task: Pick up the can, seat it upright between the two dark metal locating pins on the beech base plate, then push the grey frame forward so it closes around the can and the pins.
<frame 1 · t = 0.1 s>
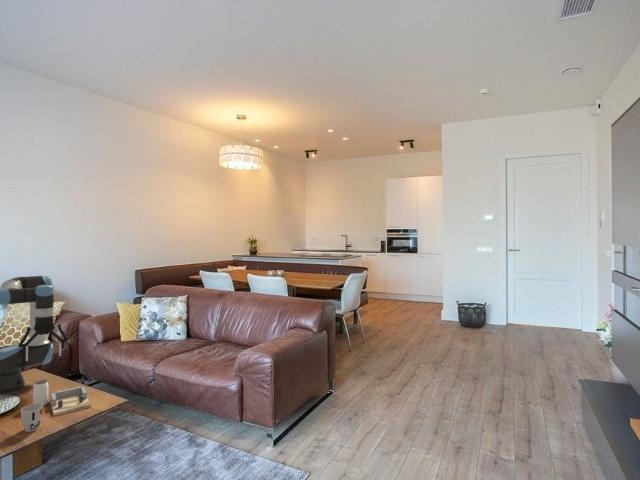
hand: (43, 357, 190), 28 cm above the table, fingers open, 13 cm apart
cup: (31, 429, 174), on the table
grey frame: (68, 395, 203), point 3 cm above the table, slide at 0.0 cm
can: (40, 405, 199), on the table
base plate: (69, 404, 199), on the table
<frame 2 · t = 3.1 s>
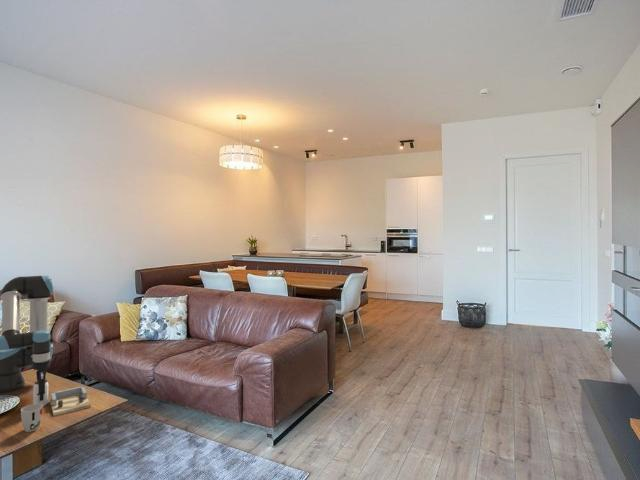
hand: (40, 403, 199), 0 cm above the table, fingers closed on can, 6 cm apart
can: (40, 404, 199), on the table, touching gripper
everything else where it was.
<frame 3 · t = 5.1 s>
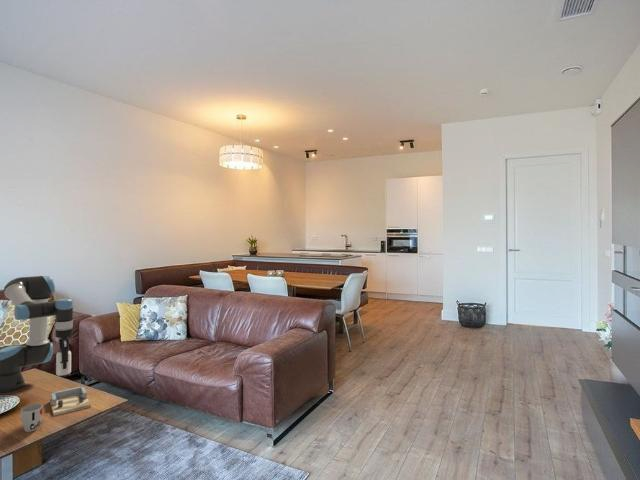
hand: (63, 372, 196), 18 cm above the table, fingers closed on can, 6 cm apart
can: (63, 374, 196), point 17 cm above the table, touching gripper
everything else where it was.
when the fingers open (3 cm above the table, at t = 7.3 s): can drops 1 cm, resting on base plate.
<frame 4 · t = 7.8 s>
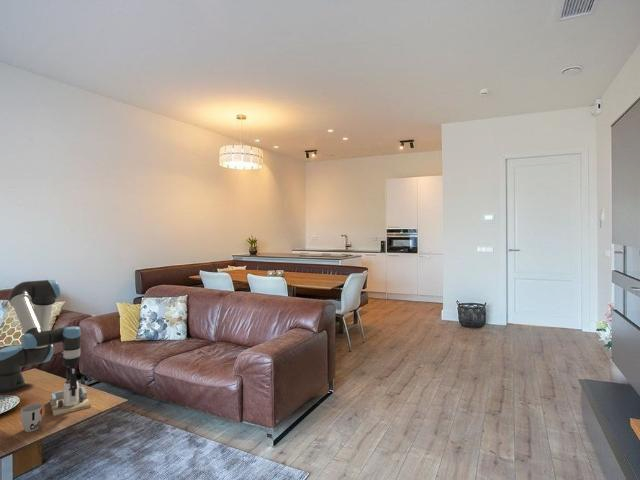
hand: (71, 397, 196), 5 cm above the table, fingers open, 13 cm apart
can: (70, 404, 196), point 1 cm above the table, touching base plate
everything else where it was.
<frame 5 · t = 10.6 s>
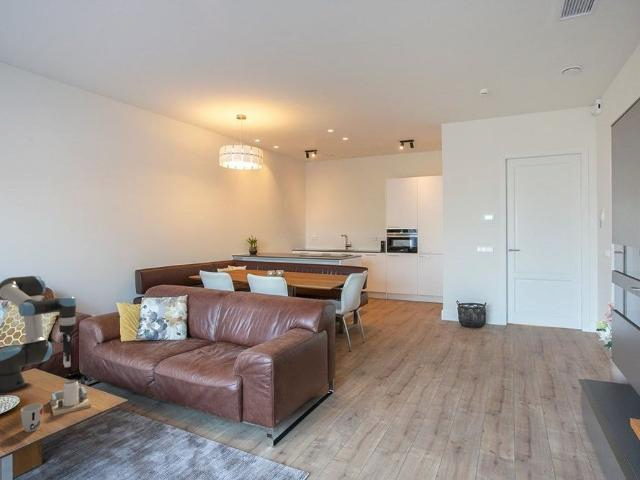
hand: (66, 365, 211), 17 cm above the table, fingers open, 4 cm apart
nothing on the table moved.
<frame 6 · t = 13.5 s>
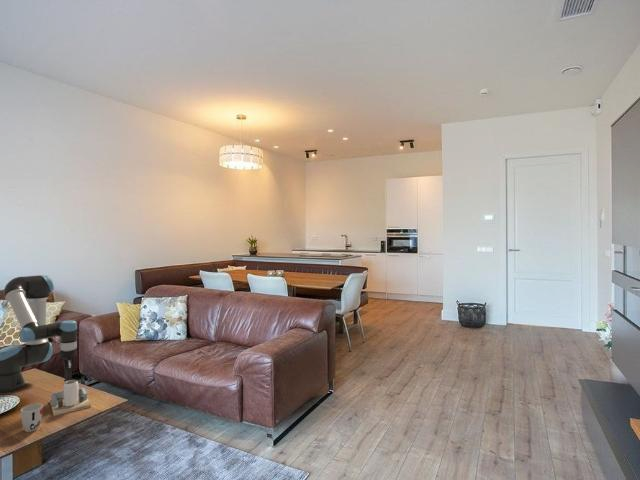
hand: (67, 391, 207), 4 cm above the table, fingers closed
grey frame: (69, 396, 202), point 3 cm above the table, slide at 1.2 cm, touching gripper
everything else where it was.
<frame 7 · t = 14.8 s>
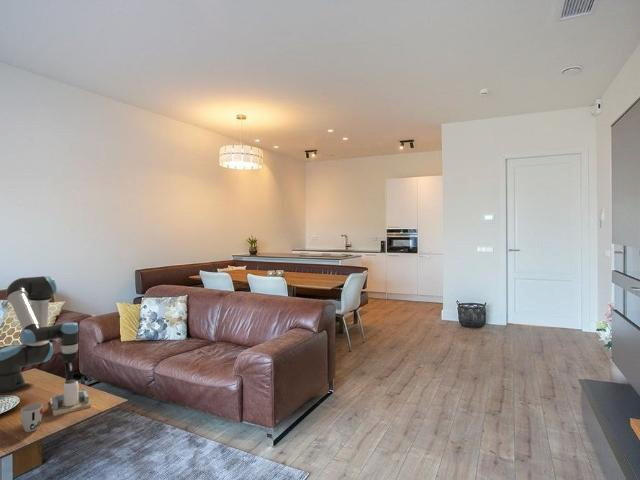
hand: (69, 395, 203), 3 cm above the table, fingers closed
grey frame: (70, 399, 198), point 3 cm above the table, slide at 6.2 cm, touching gripper
everything else where it was.
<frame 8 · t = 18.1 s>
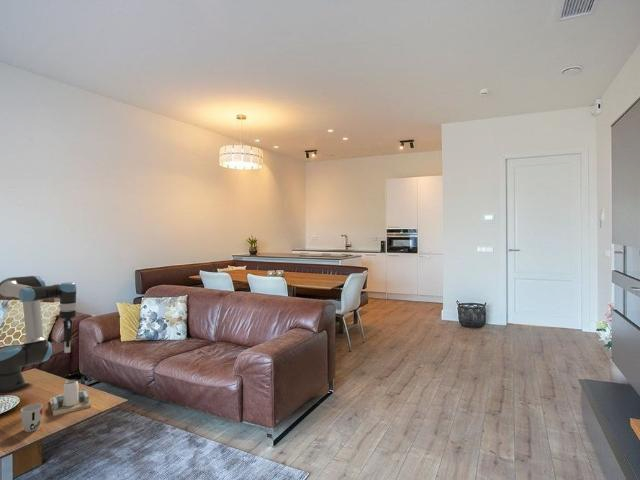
hand: (67, 352, 210), 24 cm above the table, fingers closed
grey frame: (70, 399, 198), point 3 cm above the table, slide at 6.2 cm
everything else where it was.
at the end: can 0.2 cm from the target spot, point 1.3 cm above the table; can tilted 0°; grey frame slide at 6.2 cm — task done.
